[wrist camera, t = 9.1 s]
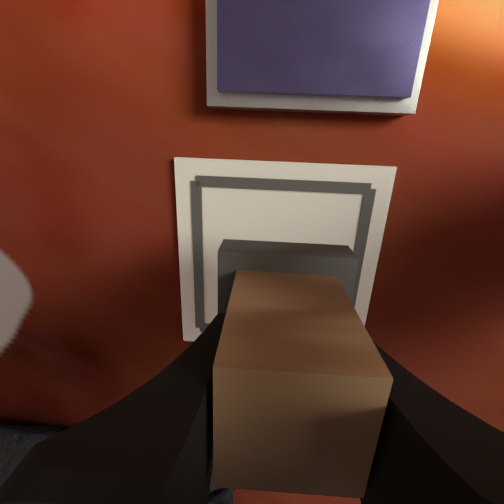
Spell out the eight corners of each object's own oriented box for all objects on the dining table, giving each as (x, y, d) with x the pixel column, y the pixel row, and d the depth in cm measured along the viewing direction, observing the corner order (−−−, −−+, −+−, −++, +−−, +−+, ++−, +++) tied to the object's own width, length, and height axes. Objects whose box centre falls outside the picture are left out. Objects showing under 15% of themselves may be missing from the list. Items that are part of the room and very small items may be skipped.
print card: (393, 166, 16) (397, 167, 15) (357, 348, 20) (359, 352, 19) (176, 157, 16) (173, 157, 16) (184, 337, 20) (182, 341, 20)
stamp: (347, 245, 12) (438, 351, 5) (331, 349, 13) (387, 519, 7) (223, 238, 12) (176, 335, 6) (222, 342, 13) (186, 503, 7)
